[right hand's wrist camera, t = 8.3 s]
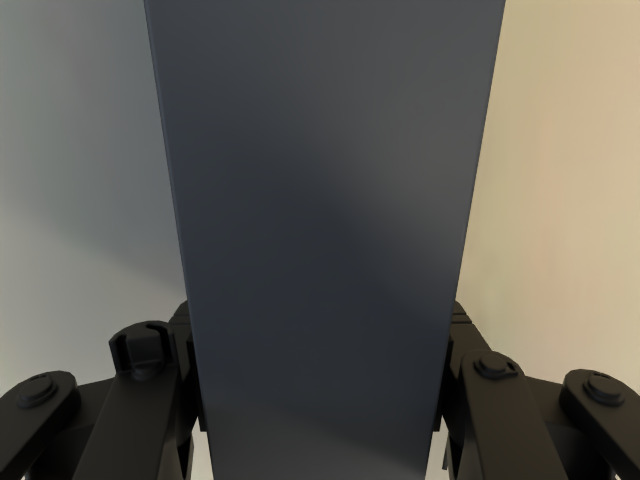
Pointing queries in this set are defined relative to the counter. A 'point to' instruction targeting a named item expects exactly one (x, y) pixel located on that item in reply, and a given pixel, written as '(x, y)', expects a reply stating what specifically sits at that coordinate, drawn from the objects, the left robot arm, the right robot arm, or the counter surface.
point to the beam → (322, 218)
